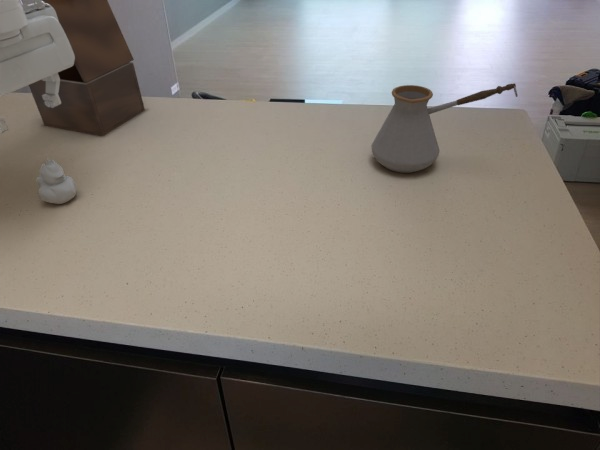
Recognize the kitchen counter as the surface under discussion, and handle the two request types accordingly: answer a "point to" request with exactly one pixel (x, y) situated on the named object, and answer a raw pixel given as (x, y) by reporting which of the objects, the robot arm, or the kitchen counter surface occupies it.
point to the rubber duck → (55, 184)
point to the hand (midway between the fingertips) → (28, 118)
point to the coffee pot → (415, 128)
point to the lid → (92, 36)
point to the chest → (92, 100)
